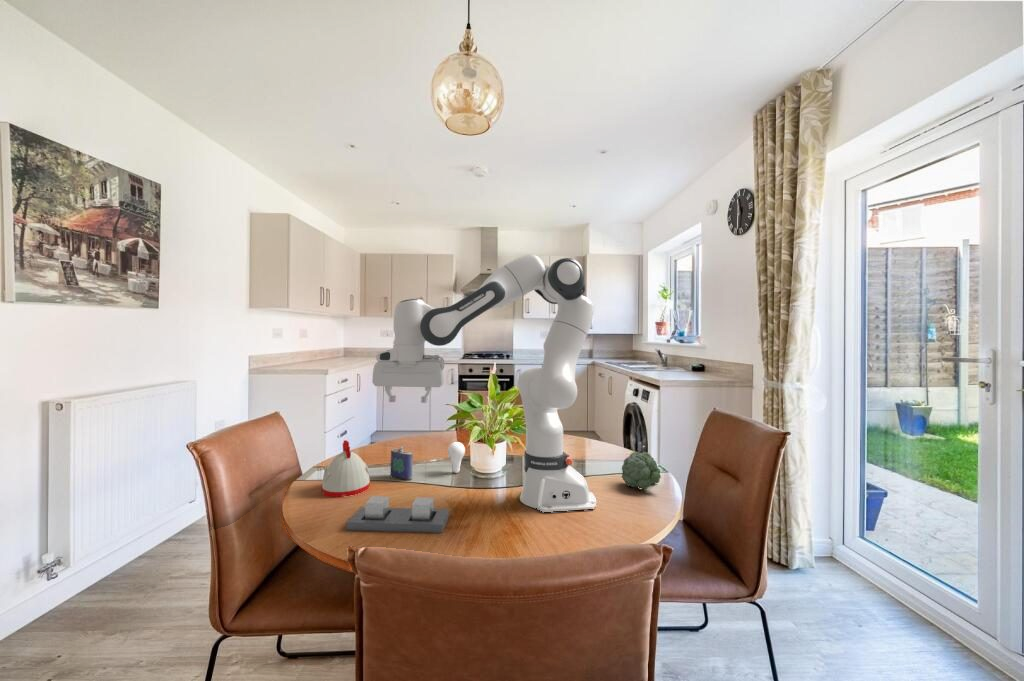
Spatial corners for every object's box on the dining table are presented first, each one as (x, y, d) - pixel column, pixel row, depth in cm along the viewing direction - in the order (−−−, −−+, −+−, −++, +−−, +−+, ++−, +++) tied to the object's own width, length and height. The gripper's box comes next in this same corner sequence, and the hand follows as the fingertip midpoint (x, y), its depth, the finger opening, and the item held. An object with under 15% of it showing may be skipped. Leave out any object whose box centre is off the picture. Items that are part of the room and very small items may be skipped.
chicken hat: (363, 478, 136) (364, 434, 136) (374, 491, 125) (375, 443, 125) (318, 486, 129) (319, 439, 128) (325, 501, 117) (326, 449, 117)
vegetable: (679, 483, 129) (654, 470, 121) (648, 505, 133) (622, 493, 125) (660, 453, 138) (636, 439, 130) (632, 474, 143) (607, 461, 135)
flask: (413, 478, 136) (414, 447, 136) (407, 481, 134) (408, 449, 134) (394, 474, 141) (394, 443, 141) (387, 476, 138) (388, 445, 138)
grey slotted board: (449, 516, 108) (449, 509, 108) (442, 532, 99) (442, 524, 99) (360, 514, 108) (360, 507, 108) (346, 530, 99) (346, 522, 99)
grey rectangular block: (388, 519, 106) (388, 496, 106) (382, 527, 101) (382, 503, 101) (371, 518, 106) (372, 496, 106) (364, 526, 101) (365, 503, 101)
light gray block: (433, 520, 105) (433, 497, 105) (429, 528, 101) (429, 504, 101) (416, 520, 106) (416, 497, 106) (411, 528, 101) (411, 504, 101)
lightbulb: (457, 477, 138) (457, 445, 138) (443, 473, 142) (444, 442, 142) (468, 472, 144) (468, 441, 144) (455, 469, 147) (455, 439, 147)
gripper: (446, 354, 120) (445, 401, 120) (378, 353, 120) (378, 399, 120) (442, 355, 113) (441, 404, 113) (370, 354, 114) (369, 403, 114)
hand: (408, 402), depth 117 cm, fingers open, 8 cm apart
